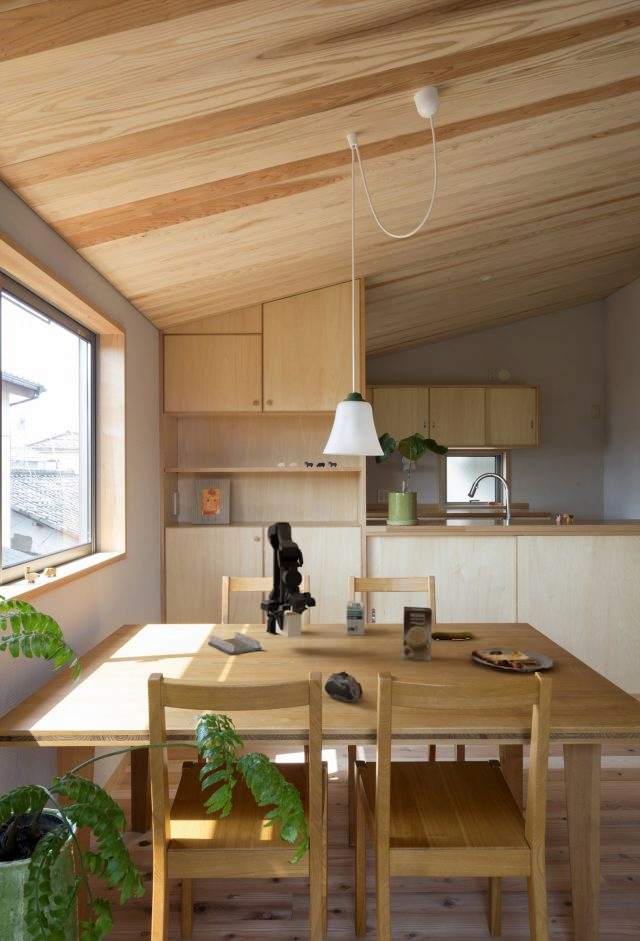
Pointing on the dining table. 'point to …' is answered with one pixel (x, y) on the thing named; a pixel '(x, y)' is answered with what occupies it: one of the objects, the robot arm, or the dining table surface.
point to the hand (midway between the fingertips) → (288, 629)
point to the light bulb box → (355, 618)
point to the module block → (290, 624)
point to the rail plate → (235, 644)
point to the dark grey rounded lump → (343, 687)
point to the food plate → (511, 659)
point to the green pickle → (451, 635)
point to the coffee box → (417, 633)
